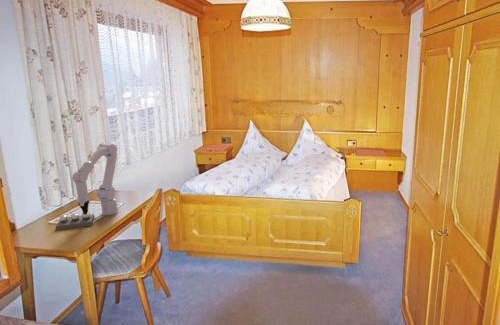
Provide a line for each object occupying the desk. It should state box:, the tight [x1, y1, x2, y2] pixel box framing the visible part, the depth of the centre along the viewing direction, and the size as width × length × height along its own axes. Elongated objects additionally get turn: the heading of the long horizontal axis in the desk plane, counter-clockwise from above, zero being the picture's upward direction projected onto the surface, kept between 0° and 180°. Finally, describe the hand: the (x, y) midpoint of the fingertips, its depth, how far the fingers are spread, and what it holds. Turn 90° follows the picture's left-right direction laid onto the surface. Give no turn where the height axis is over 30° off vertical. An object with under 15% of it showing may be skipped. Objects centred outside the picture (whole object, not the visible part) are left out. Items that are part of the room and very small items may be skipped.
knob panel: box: [55, 213, 95, 231], centre depth 221 cm, size 19×12×2 cm, turn 105°
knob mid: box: [70, 212, 80, 221], centre depth 221 cm, size 4×4×6 cm
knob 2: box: [81, 211, 91, 220], centre depth 222 cm, size 4×4×6 cm
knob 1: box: [59, 214, 69, 222], centre depth 219 cm, size 4×4×6 cm
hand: (85, 213), depth 222 cm, fingers closed, pressing on knob 2
